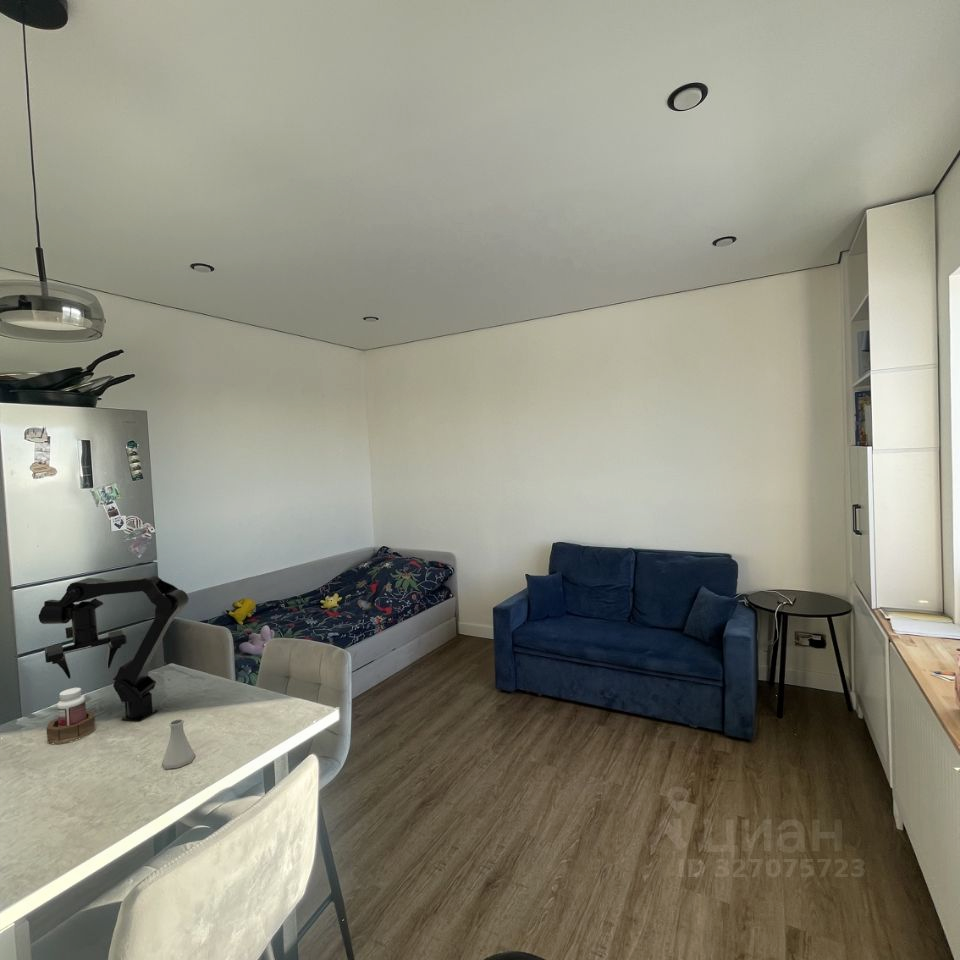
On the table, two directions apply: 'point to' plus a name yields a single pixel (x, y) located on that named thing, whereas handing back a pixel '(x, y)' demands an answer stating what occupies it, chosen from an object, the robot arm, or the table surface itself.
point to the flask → (177, 747)
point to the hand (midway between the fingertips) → (89, 672)
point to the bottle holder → (70, 730)
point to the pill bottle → (71, 707)
